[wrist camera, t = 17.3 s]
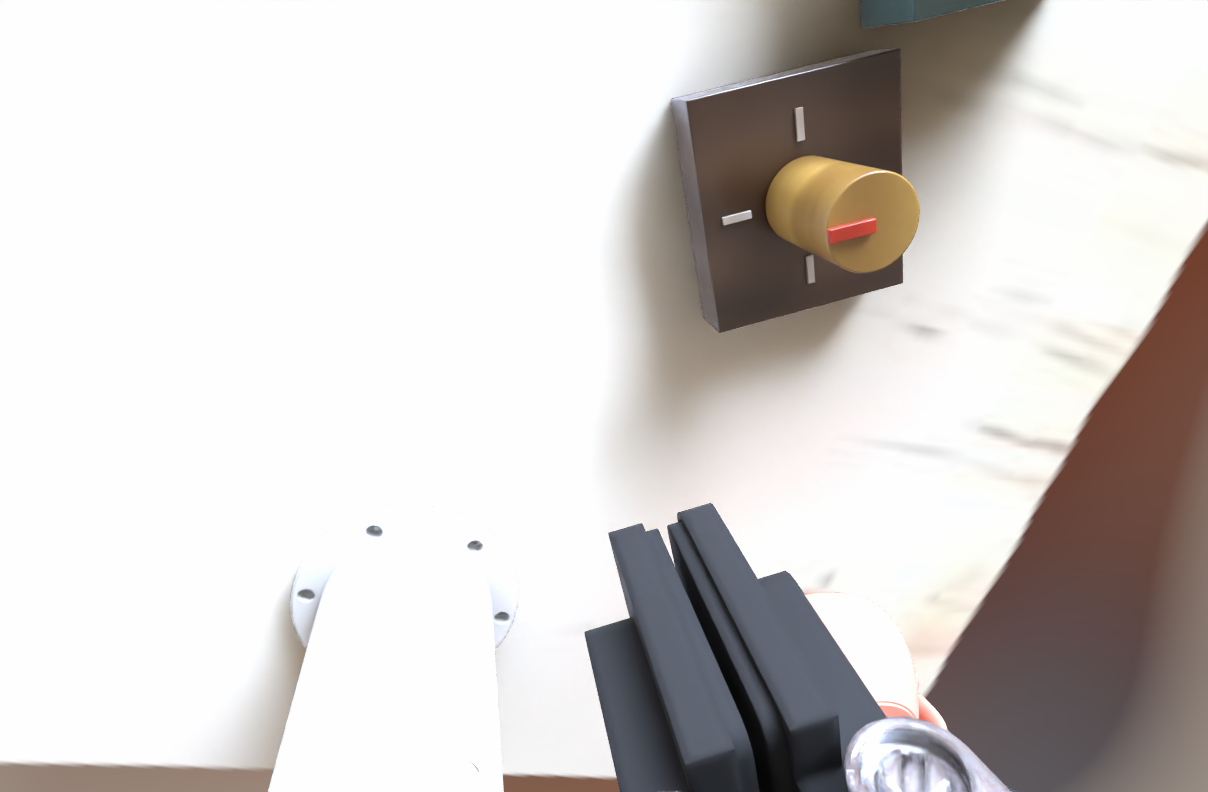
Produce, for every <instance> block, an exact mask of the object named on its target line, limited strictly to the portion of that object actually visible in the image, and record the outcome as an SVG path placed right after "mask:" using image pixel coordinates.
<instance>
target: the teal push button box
mask: <svg viewBox="0 0 1208 792" xmlns="http://www.w3.org/2000/svg"><path fill="white" fill-rule="evenodd" d="M1000 1H1004V0H860V5H861V28H863V29H864V28H871V27H879V26H887V25H895V24H902V23H910V22H916V21H920V20H925V19H929V18H933V17H937V16H941V15H945V14H950V13H954V12H958V11H962V10H966V9H970V8H975V7H979V6H983V5H987V4H991V3H995V2H1000Z"/></svg>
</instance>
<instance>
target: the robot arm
mask: <svg viewBox="0 0 1208 792" xmlns="http://www.w3.org/2000/svg"><path fill="white" fill-rule="evenodd" d="M677 518H678V523H674V524H671V525H668V526H667V529H668V535H669V539H670V544H671V549H672V554H673V559H674V563H675V566H674V564H673V562H672V559H671V557H670V555H669V553H668V550H667V548H666V546H665V544H664V541H663V539H662V537H661V534H660V532H659V530H658V529H654V530H650V531H647V532H646V531H645V529H644V527H643V525H642V523H641V524H637V525H634V526H631V527H627V528H624V529H620V530H617V531H613V532H610V533H609V538H610V542H611V546H612V550H613V554H614V558H615V562H616V565H617V569H618V573H619V577H620V581H621V585H622V589H623V593H624V597H625V600H626V604H627V608H628V612H629V616H630V618H629V619H625V620H622V621H619V622H615V623H612V624H609V625H606V626H602V627H599V628H596V629H592V630H589V631H586V632H585V637H586V642H587V647H588V651H589V656H590V660H591V664H592V669H593V673H594V678H595V682H596V687H597V691H598V696H599V700H600V704H601V709H602V713H603V718H604V722H605V727H606V731H607V736H608V740H609V744H610V749H611V753H612V758H613V762H614V767H615V771H616V776H617V780H618V784H619V789H620V792H1019V791H1016V790H1013V789H1011V788H1008V787H1006V786H1005V785H1004V784H1003V783H1002V782H1001V781H1000V780H999V779H998V778H997V777H996V776H995V774H993V772H992V771H990V769H989V768H988V767H987V766H986V765H985V764H984V763H983V762H982V761H981V760H980V759H979V758H978V757H977V756H976V755H975V754H974V753H973V752H972V751H971V750H970V749H969V748H968V747H967V746H966V745H965V744H964V743H963V742H961V741H960V740H959V739H958V738H956V737H955V736H954V735H953V734H951V733H950V732H949V731H947V730H945V729H943V728H941V727H939V726H937V725H935V724H933V723H931V722H929V721H924V720H920V719H916V718H911V717H886V715H885V714H884V712H883V711H882V709H881V708H880V706H879V705H878V703H877V702H876V700H875V699H874V697H873V696H872V694H871V693H870V692H869V690H868V689H867V687H866V686H865V684H864V683H863V681H862V680H861V678H860V677H859V675H858V674H857V672H856V671H855V669H854V668H853V666H852V665H851V663H850V662H849V660H848V659H847V657H846V656H845V654H844V653H843V651H842V650H841V648H840V647H839V645H838V644H837V642H836V641H835V639H834V638H833V636H832V635H831V633H830V632H829V630H828V629H827V627H826V626H825V624H824V623H823V621H822V620H821V618H820V617H819V615H818V614H817V612H816V611H815V609H814V608H813V606H812V605H811V603H810V602H809V600H808V599H807V597H806V596H805V595H804V593H803V592H802V590H801V589H800V587H799V586H798V584H797V583H796V581H795V580H794V579H793V577H792V576H791V575H790V574H789V573H788V572H786V571H783V572H780V573H776V574H773V575H770V576H767V577H763V578H760V579H757V577H756V576H755V574H754V572H753V571H752V569H751V567H750V566H749V564H748V562H747V561H746V559H745V557H744V556H743V554H742V552H741V551H740V549H739V547H738V546H737V544H736V542H735V541H734V539H733V537H732V535H731V534H730V532H729V530H728V529H727V527H726V525H725V524H724V522H723V520H722V519H721V517H720V515H719V514H718V512H717V510H716V509H715V507H714V506H713V504H711V503H709V504H706V505H702V506H699V507H695V508H692V509H689V510H685V511H682V512H678V514H677ZM375 525H376V526H375ZM517 605H518V587H517V580H516V573H515V570H514V567H513V564H512V562H511V559H510V557H509V555H508V554H507V552H506V551H505V549H504V548H503V546H502V544H501V543H500V542H499V541H498V540H497V539H496V538H495V537H494V536H493V535H492V534H491V533H490V532H489V531H487V530H486V529H484V528H483V527H481V526H480V525H478V524H477V523H475V522H474V521H472V520H470V519H468V518H466V517H463V516H461V515H459V514H456V513H454V512H450V511H446V510H442V509H438V508H434V507H423V506H397V507H386V508H382V509H378V510H374V511H370V512H366V513H363V514H361V515H358V516H356V517H353V518H351V519H349V520H346V521H344V522H343V523H341V524H340V525H338V526H336V527H335V528H333V529H332V530H330V531H329V532H327V533H326V534H325V535H324V536H323V537H322V538H321V539H320V540H319V541H318V542H317V543H315V544H314V545H313V546H312V548H311V549H310V551H309V552H308V553H307V555H306V556H305V558H304V559H303V561H302V562H301V565H300V567H299V570H298V573H297V575H296V578H295V580H294V584H293V587H292V591H291V596H290V614H291V618H292V621H293V625H294V629H295V631H296V633H297V635H298V637H299V639H300V640H301V642H302V644H303V646H304V647H305V648H306V649H307V650H306V654H305V657H304V661H303V665H302V668H301V672H300V676H299V679H298V683H297V687H296V690H295V694H294V698H293V701H292V705H291V709H290V712H289V716H288V720H287V723H286V727H285V731H284V734H283V738H282V742H281V745H280V749H279V753H278V756H277V760H276V764H275V767H274V771H273V775H272V778H271V782H270V786H269V789H268V792H503V775H502V759H501V742H500V726H499V710H498V693H497V677H496V660H495V649H496V648H497V647H498V645H499V644H500V643H501V642H502V641H503V639H504V638H505V637H506V635H507V633H508V631H509V629H510V627H511V625H512V623H513V621H514V617H515V614H516V610H517Z"/></svg>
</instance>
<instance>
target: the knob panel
mask: <svg viewBox="0 0 1208 792" xmlns="http://www.w3.org/2000/svg"><path fill="white" fill-rule="evenodd" d="M671 105H672V112H673V118H674V125H675V132H676V138H677V145H678V151H679V158H680V165H681V171H682V178H683V185H684V191H685V198H686V205H687V211H688V218H689V224H690V231H691V238H692V244H693V251H694V258H695V264H696V271H697V278H698V284H699V291H700V297H701V304H702V311H703V317H704V319H705V320H706V321H707V322H708V323H710V324H711V325H712V326H713V327H714V328H715V329H716V330H717V331H718V332H719V333H721V332H725V331H728V330H732V329H736V328H739V327H743V326H747V325H750V324H754V323H758V322H761V321H765V320H769V319H772V318H776V317H780V316H784V315H787V314H791V313H795V312H798V311H802V310H806V309H809V308H813V307H817V306H820V305H824V304H828V303H831V302H835V301H839V300H842V299H846V298H850V297H853V296H857V295H861V294H864V293H868V292H872V291H875V290H879V289H883V288H886V287H890V286H894V285H897V284H901V283H903V254H902V255H901V256H900V257H899V258H898V259H897V260H896V261H894V262H893V263H892V264H890V265H889V266H887V267H885V268H883V269H881V270H878V271H875V272H871V273H854V272H850V271H847V270H845V269H843V268H841V267H839V266H837V265H835V264H833V263H831V262H829V261H827V260H825V259H823V258H821V257H819V256H817V255H815V254H812V253H810V252H808V251H806V250H804V249H802V248H800V247H798V246H796V245H794V244H792V243H790V242H788V241H786V240H784V239H782V238H781V237H779V236H778V235H777V234H776V233H775V232H774V231H773V229H772V228H771V226H770V224H769V222H768V219H767V216H766V197H767V192H768V189H769V187H770V185H771V182H772V181H773V179H774V177H775V176H776V175H777V173H778V172H779V171H780V170H781V169H782V168H783V167H784V166H785V165H787V164H788V163H790V162H791V161H793V160H795V159H797V158H800V157H803V156H821V157H825V158H830V159H835V160H840V161H844V162H849V163H854V164H859V165H863V166H868V167H873V168H878V169H882V170H887V171H891V172H895V173H897V174H899V175H901V176H902V138H901V50H900V49H899V48H898V49H884V50H870V51H866V52H862V53H858V54H854V55H850V56H846V57H842V58H837V59H833V60H829V61H825V62H821V63H817V64H813V65H808V66H804V67H800V68H796V69H792V70H788V71H784V72H780V73H775V74H771V75H767V76H763V77H759V78H755V79H751V80H747V81H742V82H738V83H734V84H730V85H726V86H722V87H718V88H714V89H709V90H705V91H701V92H697V93H693V94H689V95H685V96H681V97H676V98H672V99H671Z"/></svg>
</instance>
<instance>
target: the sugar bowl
mask: <svg viewBox="0 0 1208 792" xmlns="http://www.w3.org/2000/svg"><path fill="white" fill-rule="evenodd" d="M804 595H805V596H806V597H807V599H808V600H809V602H810V603H811V605H812V606H813V608H814V609H815V611H816V612H817V614H818V615H819V617H820V618H821V620H822V621H823V623H824V624H825V626H826V627H827V629H828V630H829V632H830V633H831V635H832V636H833V638H834V639H835V641H836V642H837V644H838V645H839V647H840V648H841V650H842V651H843V653H844V654H845V656H846V657H847V659H848V660H849V662H850V663H851V665H852V666H853V668H854V669H855V671H856V672H857V674H858V675H859V677H860V678H861V680H862V681H863V683H864V684H865V686H866V687H867V689H868V690H869V692H870V693H871V694H872V696H873V697H874V699H875V700H876V702H877V703H878V705H879V706H880V708H881V709H882V711H883V712H884V714H885V715H886V717H911V718H916V719H920V720H924V721H929V722H931V723H933V724H935V725H937V726H939V727H941V728H943V729H945V730H947V727H946V724H945V722H944V720H943V718H942V717H941V716H940V714H939V713H938V712H937V711H936V709H935V708H934V707H933V706H932V705H931V704H930V703H929V702H928V701H927V700H926V699H925V698H924V697H923V696H922V695H921V694H919V693H918V680H917V677H916V672H915V668H914V664H913V660H912V657H911V654H910V651H909V649H908V646H907V644H906V642H905V640H904V638H903V636H902V634H901V632H900V630H899V629H898V627H897V625H896V624H895V622H894V621H893V620H892V618H891V617H890V616H889V615H888V613H887V612H886V611H885V610H883V609H882V608H881V607H880V606H878V605H876V604H875V603H873V602H871V601H869V600H867V599H865V598H862V597H859V596H855V595H850V594H844V593H832V592H819V593H809V594H804Z"/></svg>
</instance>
